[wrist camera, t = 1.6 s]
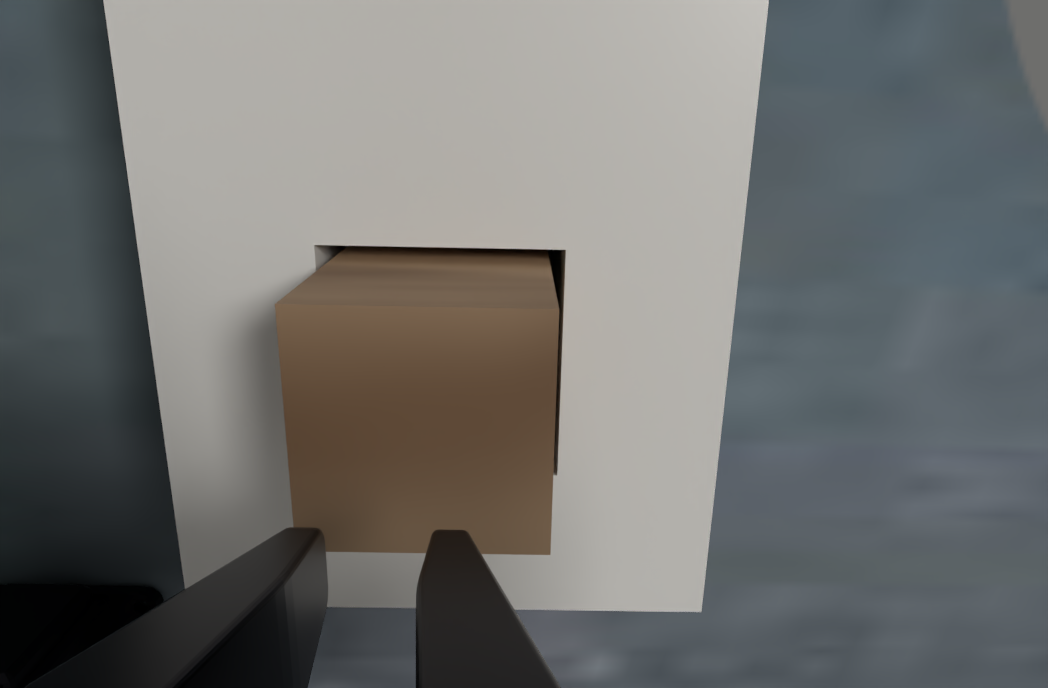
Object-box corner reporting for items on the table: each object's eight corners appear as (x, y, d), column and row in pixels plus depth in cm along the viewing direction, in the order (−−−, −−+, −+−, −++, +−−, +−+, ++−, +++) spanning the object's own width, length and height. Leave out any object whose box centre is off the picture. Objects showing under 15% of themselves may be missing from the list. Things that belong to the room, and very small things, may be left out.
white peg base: (656, 487, 23) (701, 612, 17) (270, 481, 23) (187, 604, 17) (739, -516, 16) (864, -872, 10) (176, -534, 16) (-22, -905, 10)
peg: (541, 427, 18) (550, 555, 13) (360, 424, 18) (295, 550, 13) (547, 247, 17) (559, 309, 11) (351, 243, 17) (274, 303, 11)
